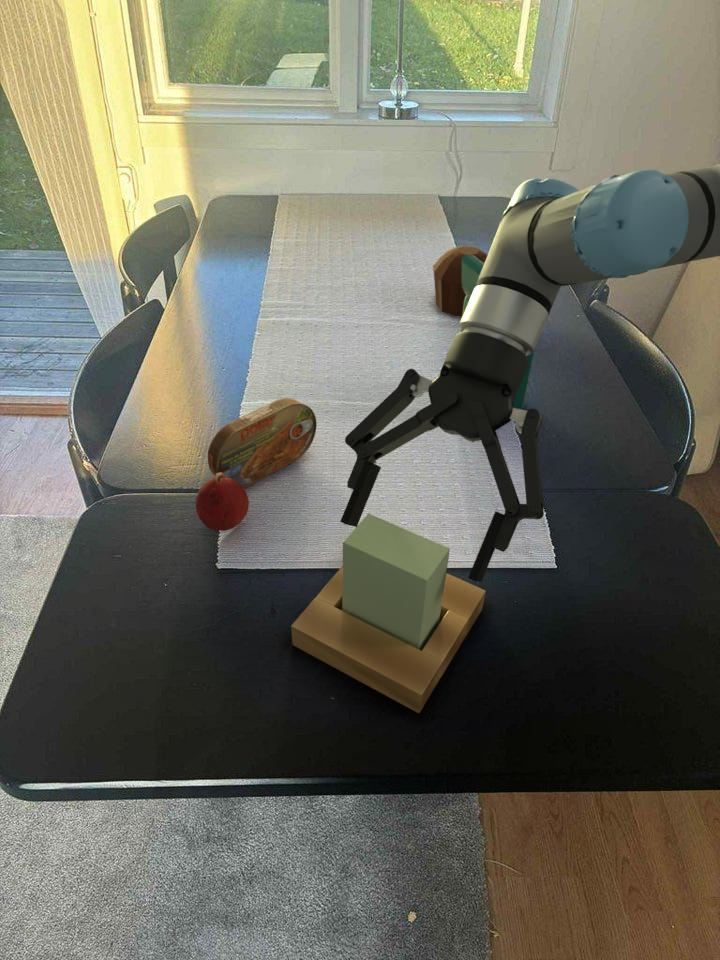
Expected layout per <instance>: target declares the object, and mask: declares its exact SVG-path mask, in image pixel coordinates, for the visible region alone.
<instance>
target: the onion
mask: <svg viewBox="0 0 720 960" xmlns="http://www.w3.org/2000/svg"><path fill="white" fill-rule="evenodd" d="M249 508H250V498H249V496H248V493H247V491H246V489H245V488H243V486H241V485H240V484H239V483H238V482H237V481H235V480H233V479H231V478H228V477H226V475H225V474H224V473H222V472H220V473H216V475H215V476H213V477H212V478H210V479H208V480H207V481H206V482H205V483H203V484H202V486H201V487H200V488H199V490H198V492H197V495H196V498H195V510H196V514H197V516H198V519H199V520H200V521H201V522H202V523H203V525H204V526H206V528H208V529H210V530H213V531H215V532H226V531H229V530H230V531H231V530H232V529H234V528H236V527H238V526H239V525H240V524H241V523H243V521H244V520H245V519H246V517H247V516H248V513H249Z"/></svg>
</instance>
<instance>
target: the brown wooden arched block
mask: <svg viewBox="0 0 720 960" xmlns="http://www.w3.org/2000/svg"><path fill="white" fill-rule="evenodd" d="M469 254H470V255H473V256H475V257H476V258H477V259H479V260H480V261H481V262H485V261H486V258H487V256H488V253H487V252H485V251H484V250H483V249H482V248H479V247H477V246H474V245H469V244H468V245H458V246H455V247H452V248H450V249H448V250H446V251H445V252H444V253H443V254H442V255H441V256H440V257H439V258H438V259H437V260H436V262H435V263H434V264H433V265H432V269H433V270H432V271H433V279H434V281H433V282H434V293H435V305H436V306H437V307H438V308H439V309H440V311H441V313H444V314H448V315H451V316H453V317H456V318H458V317H459V318H460V317H461V318H462V313H463V305H464V299H465V297H466V294H465V292H464V290H463V287H462V257H464V256H465V255H469Z"/></svg>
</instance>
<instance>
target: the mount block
mask: <svg viewBox="0 0 720 960" xmlns="http://www.w3.org/2000/svg"><path fill="white" fill-rule="evenodd" d="M342 591H343V565H342V566H341V567H340V568H339V569H338V570H337V571H336V573H335V574H334V575H333V576H332V577H331V579H330V580H329V581H328V582H327V583H326V584H325V585H324V587H323V588H322V589H321V591H320V592H319V593H318V594H317V595H316V597H314V598H313V600H312V601H311V602H310V603H309V605H307V607H306V608H305V609H304V610H303V612H301V614H300V615H299V616H298V617H297V618H296V620H295V621H294V622H293V623H292V624H291V626H290V629H291V630H290V631H291V643H292V646H294V647H295V648H297V649H300V650H301V651H303V652H305V653H306V654H308V655H310V656H312V657H314V658H316V659H317V660H319V661H321V662H323V663H325V664H327V665H328V666H331V667H333V668H334V669H336V670H338V671H340V672H342V673H344V674H346V675H347V676H349V677H350V678H353V679H354V680H356V681H358V682H360V683H362V684H364V685H366V686H368V687H369V688H371V689H373V690H375V691H376V692H379V693H380V694H382V695H384V696H386V697H388V698H390V699H392V700H394V701H395V702H397V703H399V704H400V705H403V706H404V707H406V708H408V709H410V710H412V711H413V712H415V713H417V714H420V713H421V711H422V709H423V708H424V706H425V705H426V703H427V701H428V699H429V698H430V696H431V695H432V693H433V691H434V690H435V688H436V686H437V685H438V683H439V681H440V679H441V678H442V676H443V675H444V673H445V672H446V670H447V668H448V667H449V665H450V663H451V661H452V660H453V658H454V656H455V655H456V654H457V651H458V650H459V649H460V647H461V645H462V643H463V642H464V641H465V638H466V637H467V635H468V634H469V632H470V630H471V628H472V627H473V625H474V624H475V622H476V621H477V619H478V618H479V616H480V614H481V612H482V610H483V607H484V602H485V597H486V590H485V589H482V588H481V587H479V586H476V585H475V584H472V583H469V582H467V581H465V580H462V579H460V578H458V577H456V576H454V575H451V574H449V573H447V572H446V579H445V585H444V592H443V599H442V605H441V612H440V619H439V625H438V627H437V628H436V630H435V631H434V633H433V635H432V636H431V638H430V639H429V641H428V642H427V644H426V645H425V647H424V648H423V650H422V651H421V650H419V649H417V648H415V647H413V646H411V645H409V644H407V643H405V642H403V641H401V640H399V639H397V638H395V637H393V636H391V635H389V634H387V633H385V632H383V631H381V630H379V629H377V628H375V627H373V626H371V625H369V624H367V623H365V622H363V621H361V620H359V619H357V618H355V617H353V616H351V615H349V614H347V613H345V612H343V611H342Z"/></svg>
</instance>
